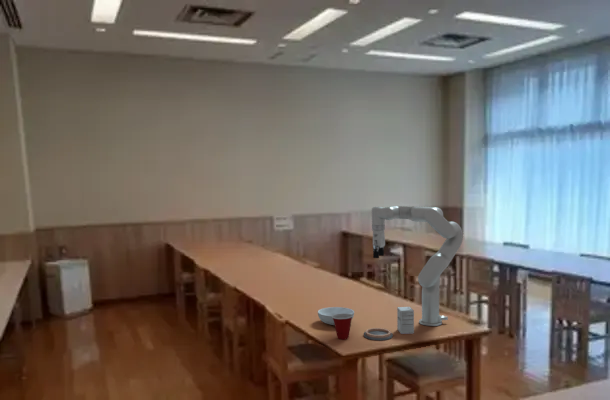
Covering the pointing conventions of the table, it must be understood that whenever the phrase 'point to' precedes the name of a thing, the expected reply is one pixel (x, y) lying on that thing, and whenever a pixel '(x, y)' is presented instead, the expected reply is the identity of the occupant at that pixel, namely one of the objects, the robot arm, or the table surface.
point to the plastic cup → (342, 325)
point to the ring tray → (378, 334)
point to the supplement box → (405, 320)
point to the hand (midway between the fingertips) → (378, 256)
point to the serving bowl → (332, 313)
